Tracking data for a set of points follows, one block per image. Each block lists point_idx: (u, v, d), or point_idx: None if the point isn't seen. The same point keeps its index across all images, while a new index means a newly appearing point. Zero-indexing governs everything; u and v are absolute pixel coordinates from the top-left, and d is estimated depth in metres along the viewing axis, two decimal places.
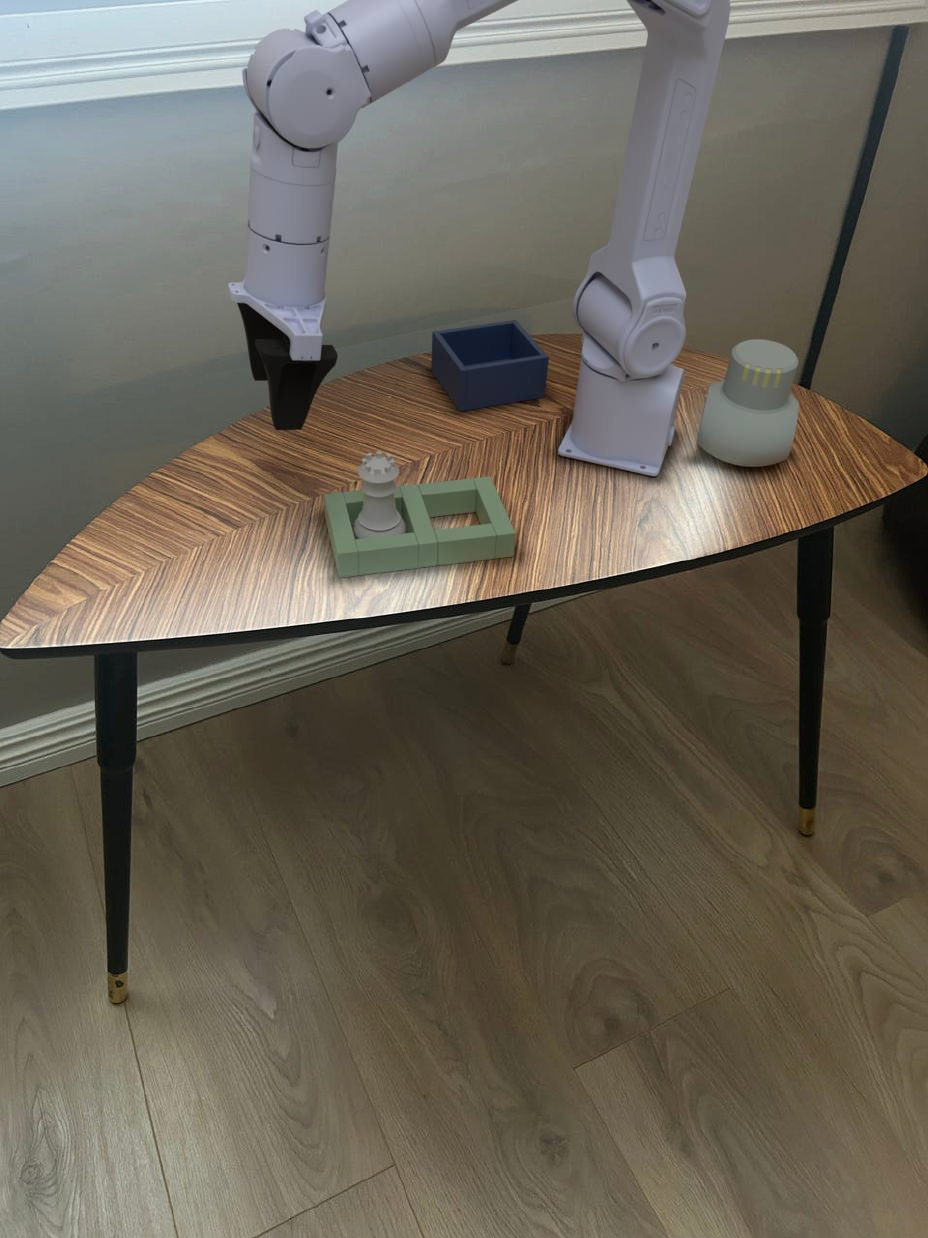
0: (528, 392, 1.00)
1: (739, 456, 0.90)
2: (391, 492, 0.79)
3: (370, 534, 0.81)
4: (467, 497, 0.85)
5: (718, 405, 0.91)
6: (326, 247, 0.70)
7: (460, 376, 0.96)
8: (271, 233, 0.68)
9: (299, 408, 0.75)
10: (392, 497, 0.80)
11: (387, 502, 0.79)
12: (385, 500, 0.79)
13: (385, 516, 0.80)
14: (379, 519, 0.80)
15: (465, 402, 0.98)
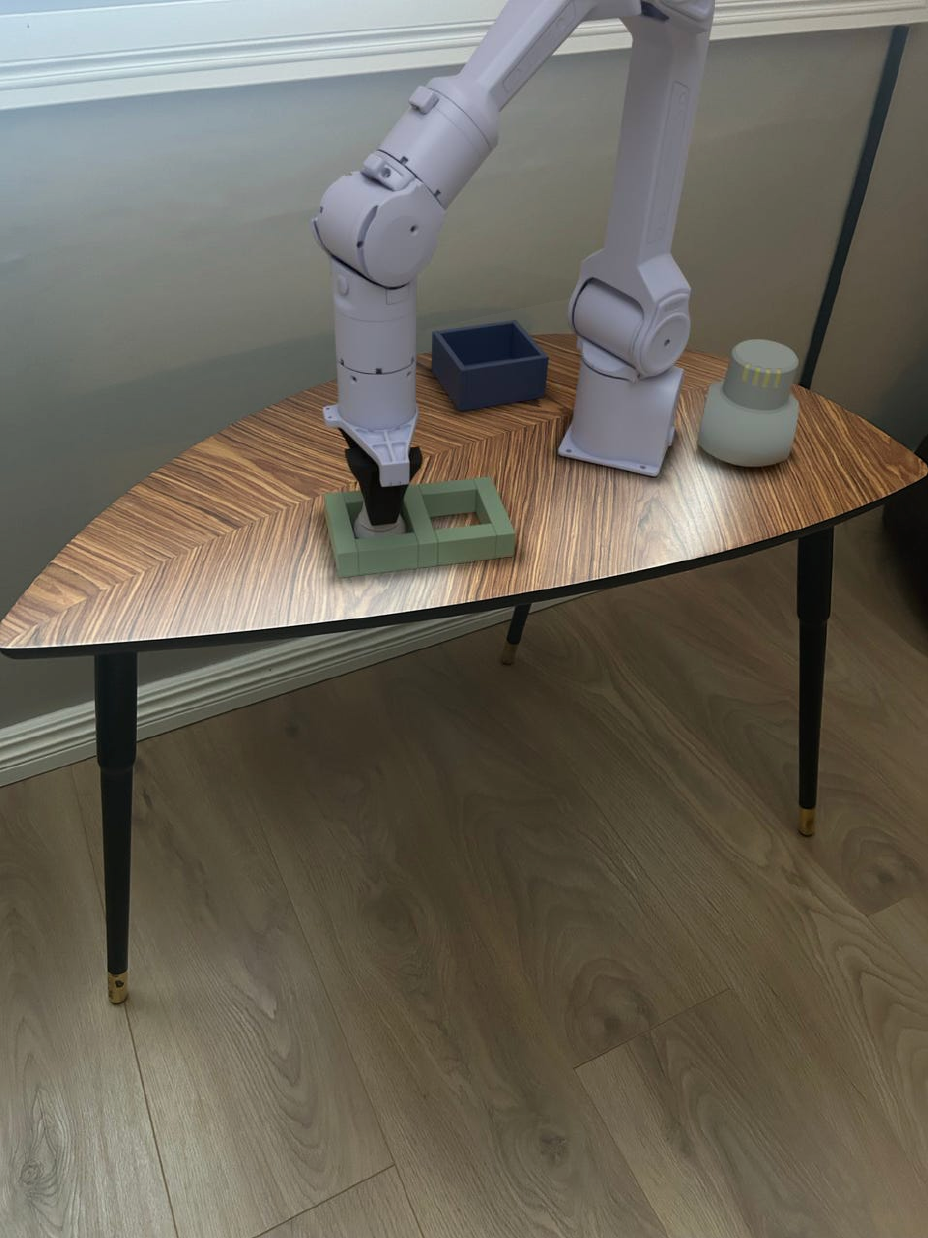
0: (528, 392, 1.00)
1: (739, 456, 0.90)
2: None
3: (370, 535, 0.81)
4: (467, 497, 0.85)
5: (718, 405, 0.91)
6: (412, 370, 0.71)
7: (460, 376, 0.96)
8: (371, 368, 0.69)
9: (392, 505, 0.78)
10: None
11: None
12: None
13: None
14: None
15: (465, 402, 0.98)
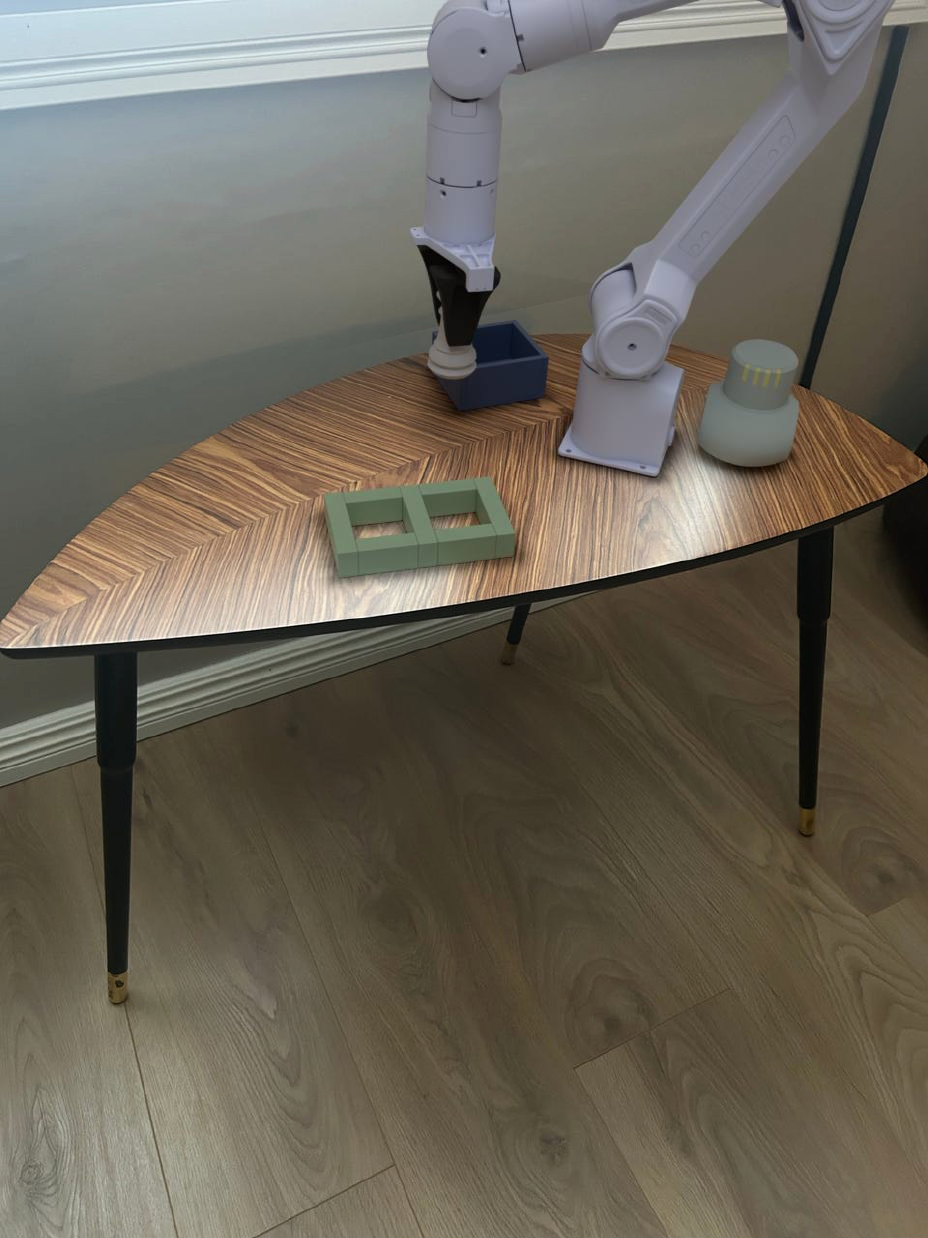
0: (528, 392, 1.00)
1: (739, 456, 0.90)
2: None
3: (446, 357, 0.88)
4: (467, 497, 0.85)
5: (719, 405, 0.91)
6: (495, 188, 0.79)
7: None
8: (437, 176, 0.77)
9: (468, 325, 0.86)
10: None
11: None
12: None
13: None
14: None
15: (465, 402, 0.98)
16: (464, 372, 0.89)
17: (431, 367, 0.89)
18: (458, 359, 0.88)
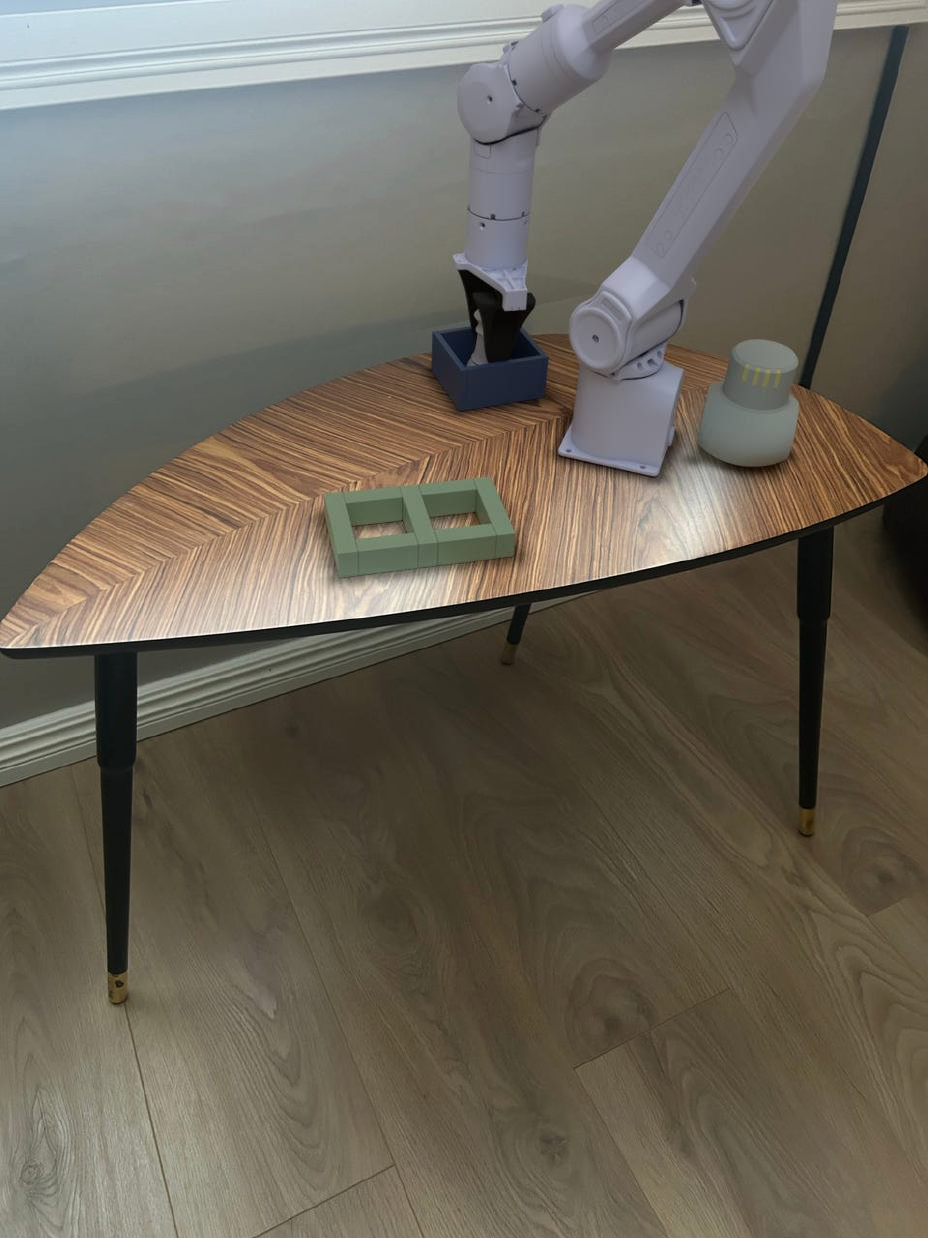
0: (528, 392, 1.00)
1: (739, 456, 0.90)
2: None
3: None
4: (467, 497, 0.85)
5: (718, 405, 0.91)
6: (528, 219, 0.90)
7: (460, 376, 0.96)
8: (467, 203, 0.90)
9: (506, 344, 0.96)
10: None
11: None
12: None
13: None
14: None
15: (465, 402, 0.98)
16: None
17: None
18: None
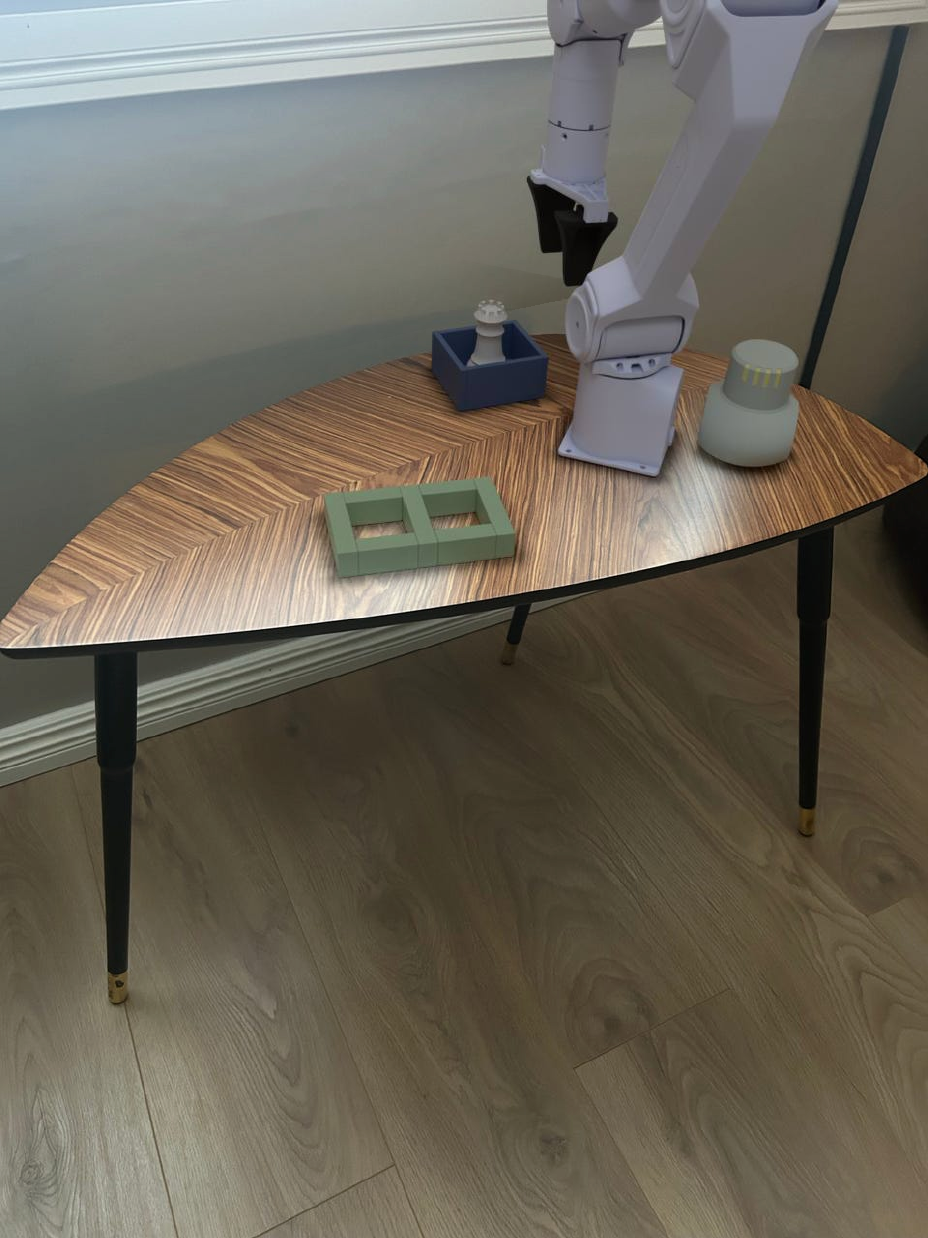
0: (528, 392, 1.00)
1: (739, 456, 0.90)
2: (500, 333, 0.98)
3: None
4: (467, 497, 0.85)
5: (718, 405, 0.91)
6: (609, 132, 0.90)
7: (460, 376, 0.96)
8: None
9: (585, 266, 0.95)
10: (500, 338, 0.99)
11: (496, 342, 0.98)
12: (495, 340, 0.98)
13: (494, 354, 0.99)
14: (489, 356, 0.99)
15: (465, 402, 0.98)
16: None
17: None
18: None
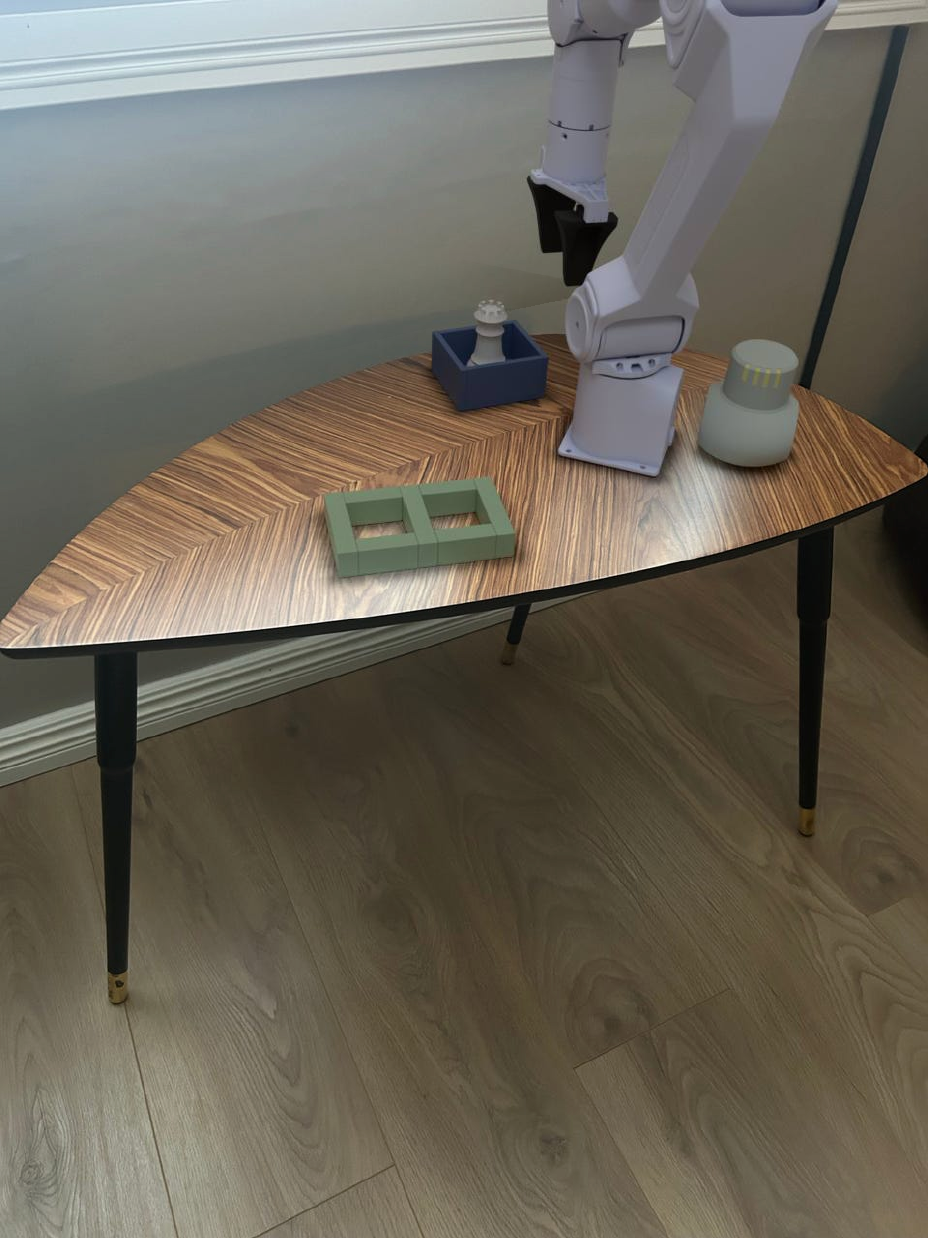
0: (528, 392, 1.00)
1: (739, 456, 0.90)
2: (500, 333, 0.98)
3: None
4: (467, 497, 0.85)
5: (718, 405, 0.91)
6: (609, 132, 0.90)
7: (460, 376, 0.96)
8: None
9: (585, 266, 0.95)
10: (500, 338, 0.99)
11: (496, 342, 0.98)
12: (495, 340, 0.98)
13: (494, 354, 0.99)
14: (489, 356, 0.99)
15: (465, 402, 0.98)
16: None
17: None
18: None
